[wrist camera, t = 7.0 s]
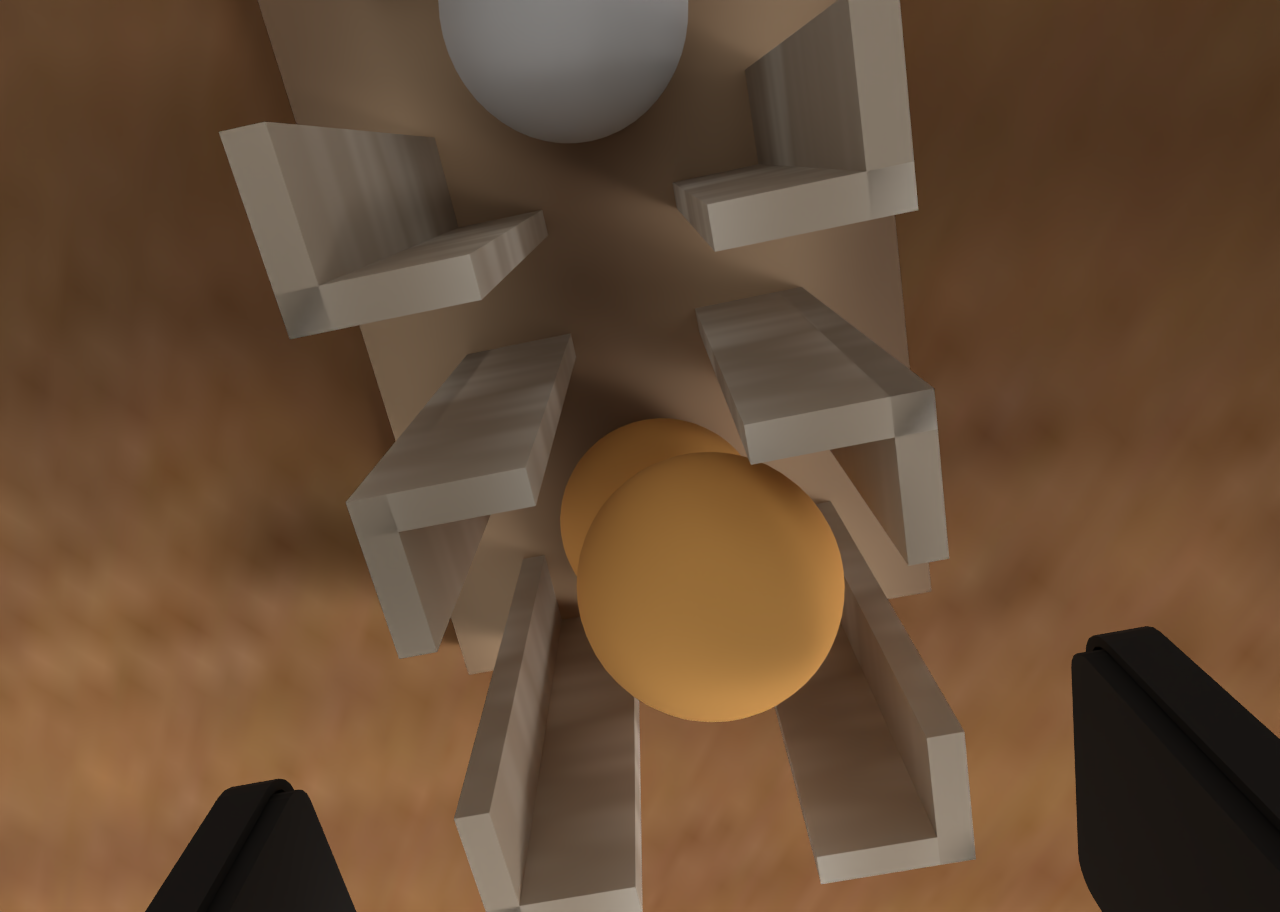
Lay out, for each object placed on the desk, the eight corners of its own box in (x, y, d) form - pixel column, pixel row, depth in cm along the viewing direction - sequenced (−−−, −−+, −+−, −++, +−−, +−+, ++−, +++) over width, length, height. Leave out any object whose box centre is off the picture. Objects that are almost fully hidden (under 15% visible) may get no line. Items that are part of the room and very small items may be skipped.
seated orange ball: (741, 375, 18) (755, 450, 14) (768, 542, 19) (787, 650, 15) (554, 408, 18) (520, 489, 14) (595, 568, 20) (574, 679, 16)
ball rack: (827, -273, 15) (1091, -844, 7) (915, 567, 21) (1119, 863, 12) (239, -132, 16) (-238, -484, 7) (477, 647, 21) (373, 982, 13)
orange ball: (733, 435, 15) (861, 410, 12) (788, 648, 16) (932, 692, 12) (522, 493, 14) (589, 486, 10) (584, 725, 14) (672, 803, 10)
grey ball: (658, -120, 15) (668, -214, 11) (698, 120, 16) (719, 110, 12) (437, -70, 15) (373, -144, 11) (494, 164, 16) (454, 166, 13)
